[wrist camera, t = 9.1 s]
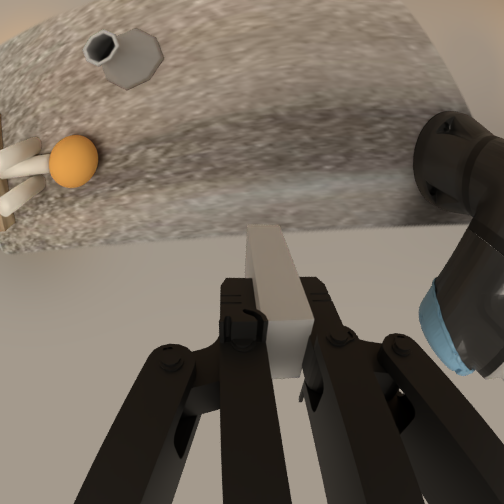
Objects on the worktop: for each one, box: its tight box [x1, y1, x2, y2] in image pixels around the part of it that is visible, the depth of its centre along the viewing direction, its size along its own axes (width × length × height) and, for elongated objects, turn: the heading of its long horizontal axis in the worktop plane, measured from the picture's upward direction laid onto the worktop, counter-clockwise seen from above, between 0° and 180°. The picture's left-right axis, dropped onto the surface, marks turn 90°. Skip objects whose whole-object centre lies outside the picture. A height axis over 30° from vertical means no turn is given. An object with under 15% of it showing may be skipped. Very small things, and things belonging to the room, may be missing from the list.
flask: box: [82, 28, 164, 90], centre depth 22 cm, size 7×7×10 cm
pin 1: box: [0, 137, 42, 173], centre depth 25 cm, size 2×2×8 cm
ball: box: [49, 135, 98, 188], centre depth 28 cm, size 6×6×6 cm
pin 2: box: [0, 174, 46, 217], centre depth 27 cm, size 2×2×8 cm
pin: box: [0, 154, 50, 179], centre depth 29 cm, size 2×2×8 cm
